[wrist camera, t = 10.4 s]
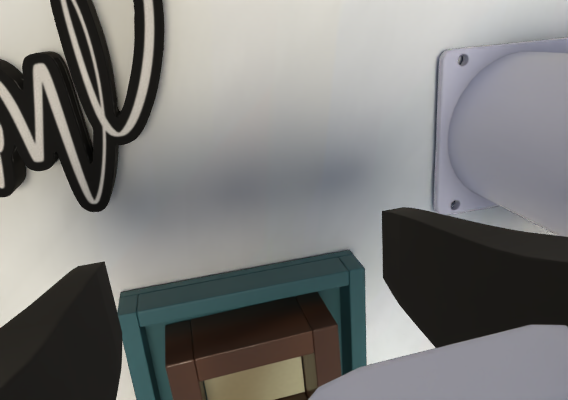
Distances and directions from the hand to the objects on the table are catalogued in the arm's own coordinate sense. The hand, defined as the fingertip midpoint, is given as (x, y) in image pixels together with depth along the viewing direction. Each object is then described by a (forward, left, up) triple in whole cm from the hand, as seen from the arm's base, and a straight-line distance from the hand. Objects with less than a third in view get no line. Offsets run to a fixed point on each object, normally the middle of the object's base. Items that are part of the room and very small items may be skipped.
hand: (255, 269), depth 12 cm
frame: (0, +10, -9) cm, 14 cm away
